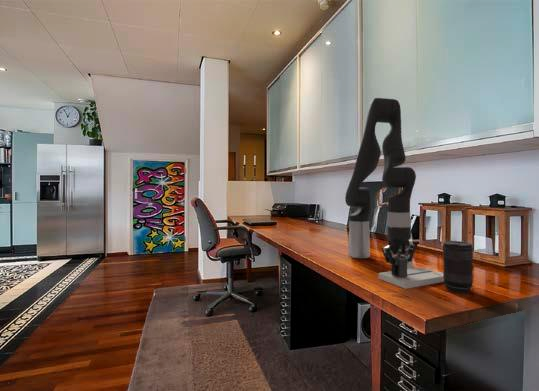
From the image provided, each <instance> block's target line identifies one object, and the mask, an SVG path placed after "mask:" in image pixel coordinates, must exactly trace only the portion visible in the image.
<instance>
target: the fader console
mask: <svg viewBox="0 0 539 391" xmlns="http://www.w3.org/2000/svg"><path fill="white" fill-rule="evenodd" d="M378 279H379V280H381V281H384V282H387V283H389V284H392V285H394V286H397V287H399V288H401V289H412V288H418V287H423V286H428V285H434V284H439V283H444V277H443V271H442V272H441V271H439V270H434V269H431V268H427V267H425V266H419V267H413V268H410V269H407V277H403V278H399V277H397V276H394V275H392V272H391V270H389V271H383V272H378Z"/></svg>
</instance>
